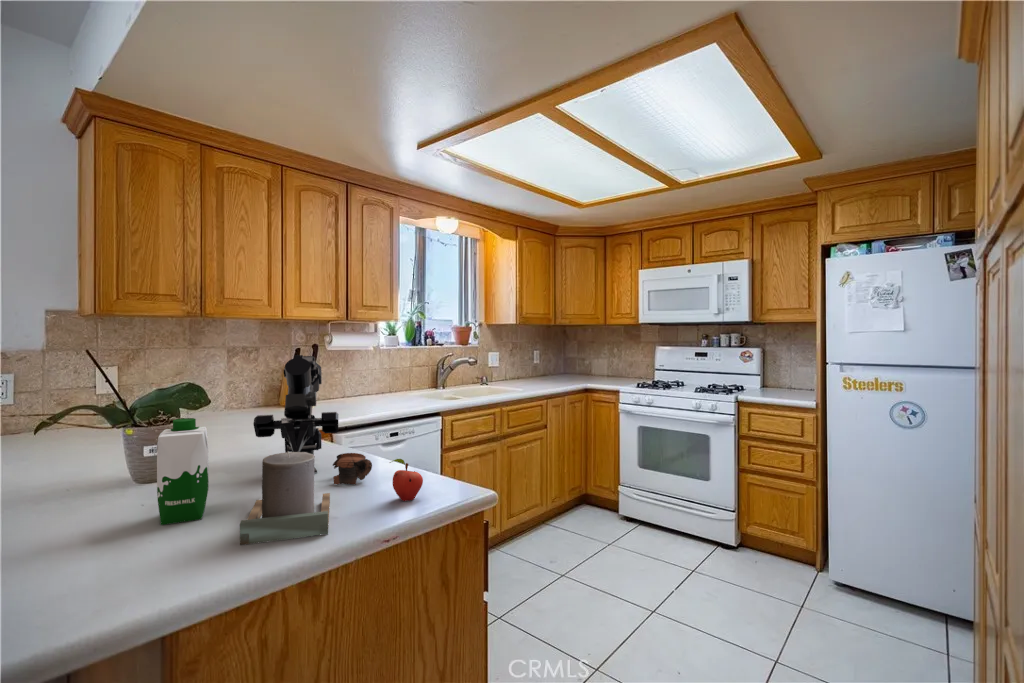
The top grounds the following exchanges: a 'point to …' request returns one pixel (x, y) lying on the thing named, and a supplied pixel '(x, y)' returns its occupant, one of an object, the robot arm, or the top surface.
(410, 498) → the apple
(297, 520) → the channel
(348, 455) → the pottery mug
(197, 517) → the milk carton
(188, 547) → the top surface
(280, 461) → the pillar candle
